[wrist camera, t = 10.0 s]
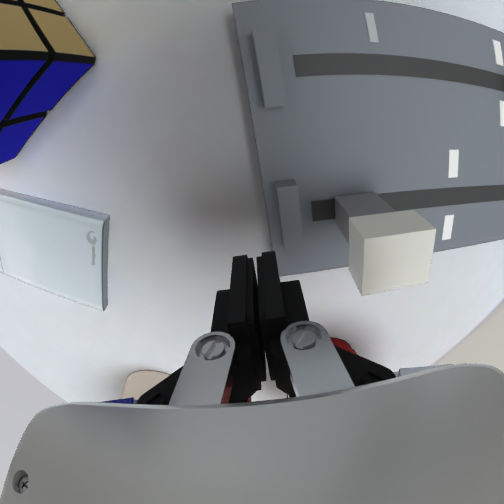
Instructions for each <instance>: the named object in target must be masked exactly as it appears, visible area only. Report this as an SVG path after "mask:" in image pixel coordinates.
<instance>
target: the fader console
mask: <svg viewBox="0 0 504 504" xmlns="http://www.w3.org/2000/svg"><path fill="white" fill-rule="evenodd" d="M232 8H233V13H234V18H235V24H236V29H237V34H238V40H239V45H240V51H241V57H242V62H243V68H244V74H245V79H246V85H247V91H248V97H249V103H250V109H251V115H252V121H253V127H254V133H255V140H256V146H257V152H258V158H259V165H260V171H261V178H262V184H263V191H264V197H265V204H266V211H267V218H268V225H269V231H270V238H271V245H272V251H275V253H276V260H277V266H278V272H279V277H280V276H287V275H294V274H301V273H308V272H315V271H322V270H329V269H335V268H342V267H348V266H349V244H348V243H347V241H346V239H345V237H344V236H343V234H342V232H341V231H340V229H339V228H338V226H337V224H336V217H335V196H343V195H352V194H362V193H371V192H375V193H376V194H377V195H378V196H380V197H381V198H382V199H383V200H384V201H385V202H386V203H387V204H388V205H390V206H391V207H392V208H393V209H394V210H395V211H396V212H398V211H407V210H415V211H416V212H417V213H419V214H420V215H421V216H422V217H423V218H424V219H426V220H427V221H428V222H429V223H430V224H431V225H432V226H434V227H435V228H436V235H435V242H434V249H433V252H439V251H444V250H450V249H455V248H460V247H466V246H471V245H476V244H482V243H487V242H492V241H497V240H502V239H504V33H502V32H500V31H497V30H495V29H492V28H490V27H487V26H484V25H481V24H479V23H476V22H473V21H470V20H467V19H463V18H460V17H457V16H453V15H450V14H446V13H442V12H438V11H434V10H430V9H425V8H421V7H416V6H410V5H405V4H399V3H393V2H385V1H378V0H254V1H246V2H239V3H232Z"/></svg>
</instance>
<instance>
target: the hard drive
mask: <svg viewBox="0 0 504 504" xmlns="http://www.w3.org/2000/svg"><path fill="white" fill-rule="evenodd" d="M108 231H109V215H106V214H102V213H98V212H94V211H90V210H86V209H82V208H78V207H74V206H70V205H65V204H61V203H57V202H53V201H49V200H45V199H41V198H37V197H33V196H28V195H24V194H20V193H16V192H12V191H8V190H3V189H0V272H1V273H3V274H6V275H8V276H10V277H12V278H15V279H17V280H20V281H22V282H24V283H27V284H29V285H32V286H34V287H37V288H39V289H42V290H44V291H47V292H50V293H52V294H55V295H58V296H61V297H63V298H66V299H69V300H71V301H74V302H77V303H80V304H83V305H86V306H89V307H92V308H95V309H98V310H101V311H104V310H105V309H106V307H107V305H108V298H107V260H108Z"/></svg>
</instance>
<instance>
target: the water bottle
mask: <svg viewBox="0 0 504 504" xmlns="http://www.w3.org/2000/svg"><path fill="white" fill-rule="evenodd" d="M168 376H170V375H168V374H165V373H161V372H156V371H137V372H134V373H132V374H130V375H129V376H128V377H127V380H126V383H125V387H124V391H123V395H122V399H125V398H132V397H134V399H135V400H138V399H139V398H140V396H142V395H143V394H144V393H145V392H147V391H148V390H149V389H151V388H152V387H154V386H155V385H157V384H158V383H160V382H161V381H162V380H164V379H165V378H167V377H168Z"/></svg>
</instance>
